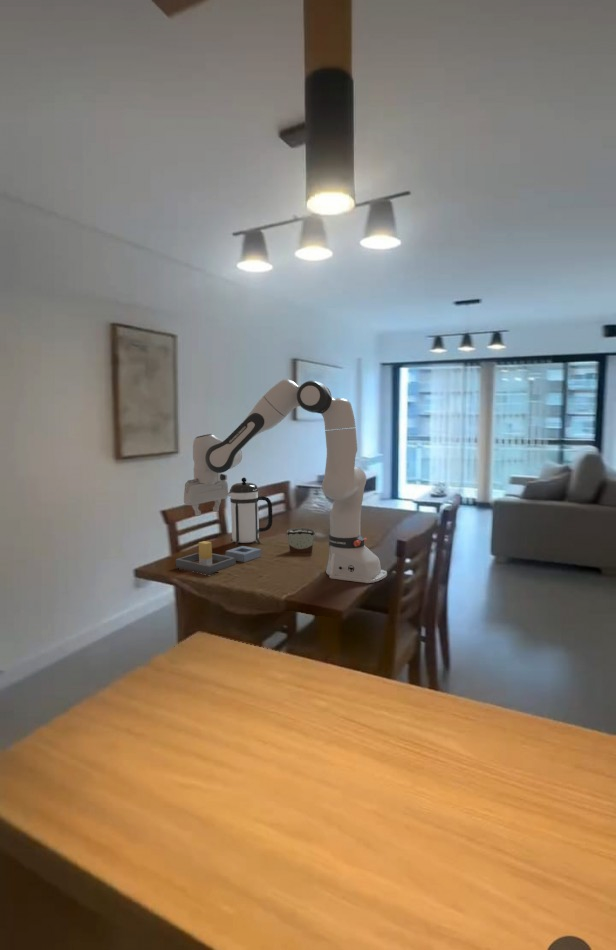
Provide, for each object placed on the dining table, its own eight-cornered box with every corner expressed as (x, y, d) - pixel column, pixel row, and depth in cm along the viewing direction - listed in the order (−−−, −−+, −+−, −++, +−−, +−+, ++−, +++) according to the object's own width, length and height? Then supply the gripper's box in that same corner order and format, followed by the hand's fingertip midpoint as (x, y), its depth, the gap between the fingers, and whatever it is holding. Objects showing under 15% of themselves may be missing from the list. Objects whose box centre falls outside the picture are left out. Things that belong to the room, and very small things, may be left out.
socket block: (261, 558, 222) (261, 549, 222) (244, 564, 214) (244, 554, 214) (242, 555, 228) (242, 545, 228) (225, 560, 220) (225, 551, 219)
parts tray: (235, 566, 212) (235, 557, 211) (209, 576, 200) (209, 566, 200) (202, 559, 222) (202, 551, 221) (176, 568, 211) (175, 559, 210)
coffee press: (250, 549, 237) (248, 480, 234) (222, 544, 246) (220, 478, 242) (273, 540, 252) (272, 476, 248) (246, 536, 260) (244, 474, 257)
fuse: (212, 565, 211) (211, 542, 210) (206, 567, 209) (205, 544, 208) (205, 563, 213) (204, 541, 212) (199, 565, 211) (198, 542, 210)
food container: (316, 550, 234) (316, 527, 233) (315, 554, 228) (315, 531, 227) (288, 550, 235) (287, 527, 234) (286, 554, 229) (285, 530, 228)
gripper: (191, 481, 197) (192, 519, 199) (230, 474, 214) (231, 509, 215) (178, 480, 201) (180, 517, 202) (218, 474, 217) (219, 508, 219)
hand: (207, 513), depth 209 cm, fingers open, 8 cm apart
